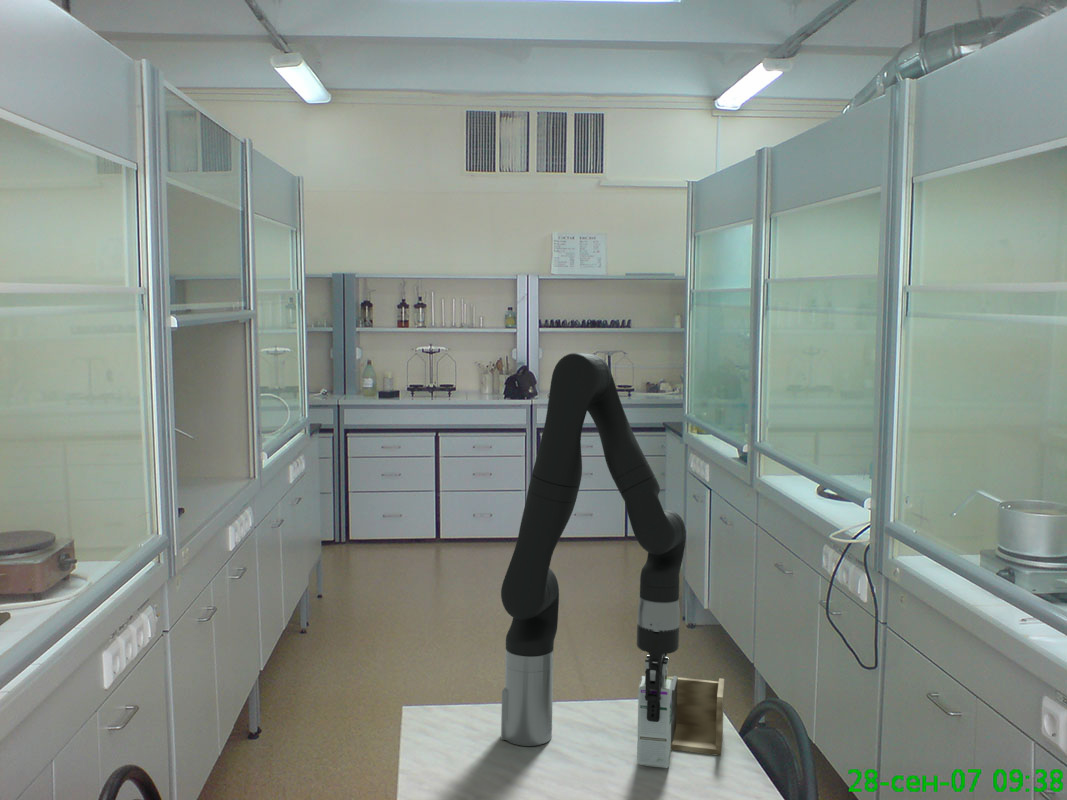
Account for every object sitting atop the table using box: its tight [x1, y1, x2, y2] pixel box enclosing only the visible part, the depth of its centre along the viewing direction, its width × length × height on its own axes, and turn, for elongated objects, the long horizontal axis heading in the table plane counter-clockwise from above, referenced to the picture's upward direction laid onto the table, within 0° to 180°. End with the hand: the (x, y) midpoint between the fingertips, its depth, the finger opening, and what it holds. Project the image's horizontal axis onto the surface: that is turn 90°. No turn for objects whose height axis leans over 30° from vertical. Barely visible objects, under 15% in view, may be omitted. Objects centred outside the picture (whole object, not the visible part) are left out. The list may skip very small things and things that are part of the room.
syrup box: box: [636, 675, 672, 769], centre depth 164 cm, size 6×6×14 cm
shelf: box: [667, 675, 725, 756], centre depth 176 cm, size 14×11×12 cm
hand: (655, 713), depth 164 cm, fingers closed on syrup box, 5 cm apart
